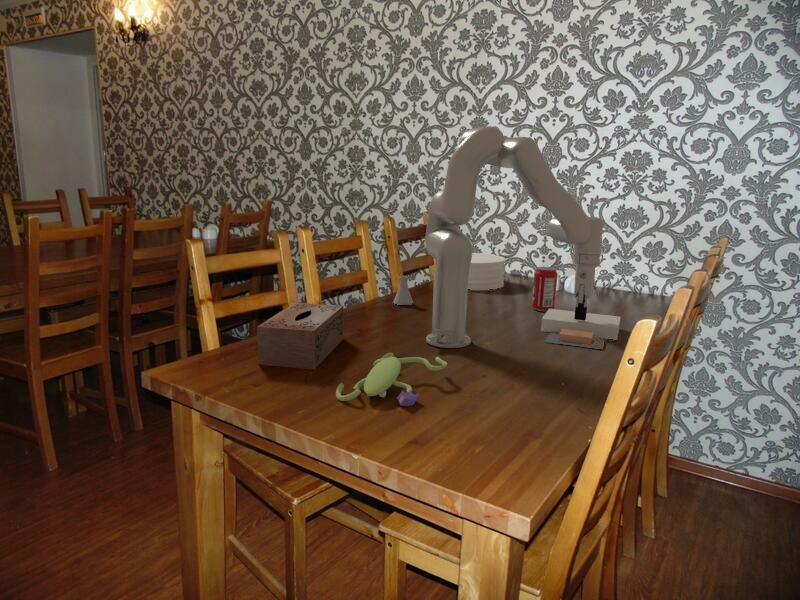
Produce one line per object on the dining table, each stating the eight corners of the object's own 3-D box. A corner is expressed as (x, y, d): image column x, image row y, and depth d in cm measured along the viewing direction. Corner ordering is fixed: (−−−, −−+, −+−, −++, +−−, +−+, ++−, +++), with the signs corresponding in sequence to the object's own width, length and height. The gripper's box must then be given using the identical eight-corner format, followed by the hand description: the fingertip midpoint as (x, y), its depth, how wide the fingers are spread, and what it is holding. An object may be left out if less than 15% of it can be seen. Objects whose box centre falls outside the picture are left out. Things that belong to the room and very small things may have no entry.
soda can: (545, 313, 196) (549, 270, 193) (527, 309, 202) (530, 267, 199) (558, 310, 202) (562, 268, 198) (540, 306, 207) (543, 265, 204)
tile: (593, 332, 167) (593, 339, 167) (562, 328, 170) (561, 335, 170) (591, 338, 161) (591, 344, 162) (559, 333, 165) (558, 340, 165)
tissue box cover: (314, 370, 138) (314, 330, 136) (258, 365, 140) (257, 326, 138) (343, 339, 163) (343, 305, 160) (295, 336, 165) (294, 302, 163)
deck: (616, 340, 167) (618, 327, 166) (540, 331, 175) (541, 318, 174) (619, 329, 180) (620, 316, 179) (548, 320, 188) (549, 308, 187)
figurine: (453, 376, 136) (454, 354, 135) (405, 419, 113) (406, 392, 112) (385, 363, 144) (385, 342, 143) (327, 400, 121) (326, 375, 119)
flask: (416, 303, 206) (417, 276, 204) (406, 307, 200) (407, 279, 198) (400, 301, 210) (400, 274, 208) (389, 304, 204) (389, 277, 202)
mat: (603, 350, 157) (603, 349, 157) (544, 342, 164) (544, 341, 163) (606, 339, 168) (606, 338, 168) (550, 332, 174) (550, 331, 174)
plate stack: (434, 288, 234) (435, 260, 231) (441, 276, 261) (442, 251, 258) (504, 292, 230) (505, 264, 227) (503, 279, 256) (505, 254, 254)
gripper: (597, 264, 160) (590, 327, 164) (601, 257, 173) (595, 315, 177) (569, 261, 162) (564, 323, 167) (575, 255, 176) (570, 312, 180)
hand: (580, 319), depth 172 cm, fingers closed
